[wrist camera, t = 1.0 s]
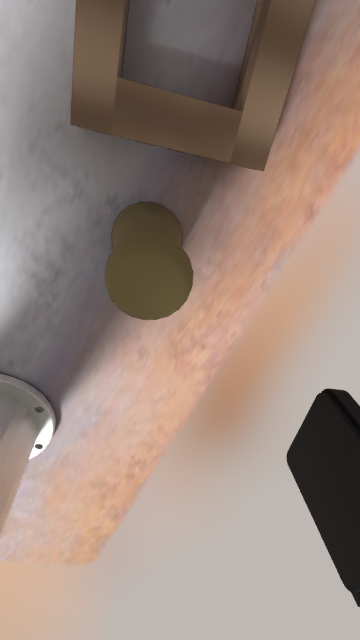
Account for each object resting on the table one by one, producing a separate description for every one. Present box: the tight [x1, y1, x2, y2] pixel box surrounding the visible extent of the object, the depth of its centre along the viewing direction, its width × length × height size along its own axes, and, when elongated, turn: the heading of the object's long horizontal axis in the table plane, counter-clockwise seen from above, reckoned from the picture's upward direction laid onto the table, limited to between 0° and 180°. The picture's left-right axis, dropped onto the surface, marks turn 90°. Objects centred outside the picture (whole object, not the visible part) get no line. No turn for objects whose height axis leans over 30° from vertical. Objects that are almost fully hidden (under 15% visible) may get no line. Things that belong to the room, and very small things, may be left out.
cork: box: [105, 202, 193, 320], centre depth 22 cm, size 6×6×11 cm
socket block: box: [71, 0, 315, 171], centre depth 19 cm, size 14×13×4 cm
